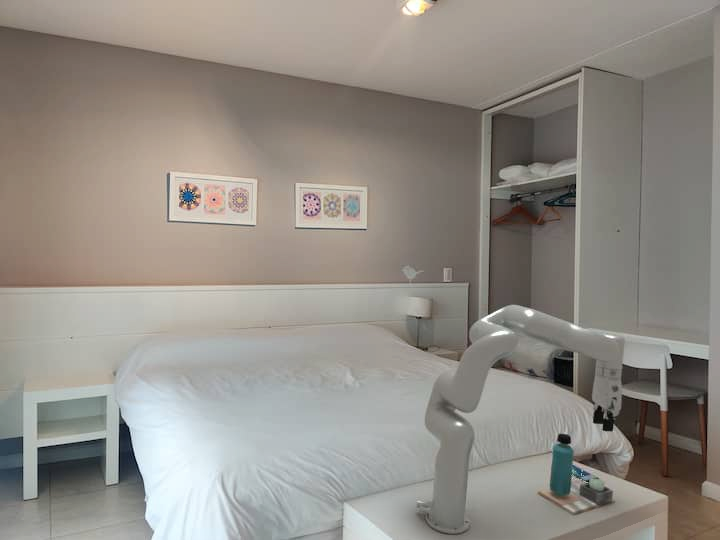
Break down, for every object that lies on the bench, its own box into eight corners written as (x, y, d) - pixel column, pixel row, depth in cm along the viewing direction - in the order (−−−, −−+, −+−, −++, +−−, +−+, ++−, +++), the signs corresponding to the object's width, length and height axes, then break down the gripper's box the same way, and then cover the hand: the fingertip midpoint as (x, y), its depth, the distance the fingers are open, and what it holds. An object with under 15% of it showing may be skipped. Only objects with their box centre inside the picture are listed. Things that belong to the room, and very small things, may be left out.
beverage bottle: (571, 501, 163) (578, 440, 162) (549, 498, 165) (555, 437, 163) (567, 491, 170) (573, 432, 168) (546, 488, 171) (552, 430, 170)
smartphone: (587, 482, 179) (552, 463, 192) (587, 484, 179) (552, 465, 192) (600, 478, 183) (565, 460, 196) (600, 480, 183) (565, 462, 196)
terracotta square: (561, 507, 161) (561, 504, 161) (538, 494, 169) (539, 491, 169) (580, 502, 166) (580, 499, 166) (557, 488, 174) (557, 486, 173)
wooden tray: (573, 515, 157) (574, 502, 157) (537, 493, 170) (538, 481, 169) (614, 501, 167) (616, 489, 167) (577, 482, 179) (578, 470, 179)
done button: (597, 495, 165) (598, 486, 164) (585, 488, 168) (586, 479, 168) (606, 492, 167) (607, 483, 166) (594, 486, 171) (595, 477, 170)
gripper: (635, 380, 156) (628, 438, 158) (605, 365, 173) (600, 418, 175) (610, 379, 156) (604, 437, 157) (584, 364, 173) (578, 417, 174)
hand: (602, 426), depth 166 cm, fingers open, 5 cm apart
